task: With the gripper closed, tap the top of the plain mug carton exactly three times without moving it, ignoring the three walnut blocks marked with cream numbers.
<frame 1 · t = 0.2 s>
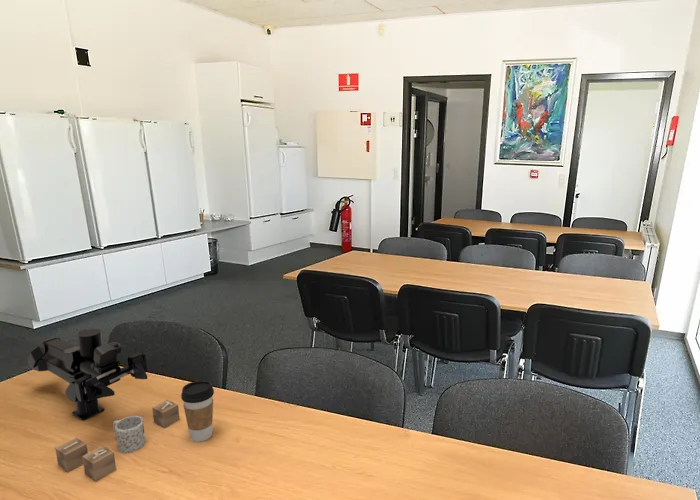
hand: (130, 385, 118), 17 cm above the table, tool horizontal, fingers open, 9 cm apart
walnut block one: (73, 463, 113), on the table
walnut block seven: (166, 421, 131), on the table
walnut block four: (100, 472, 110), on the table
mug: (127, 443, 121), on the table
coffee cup: (201, 435, 124), on the table
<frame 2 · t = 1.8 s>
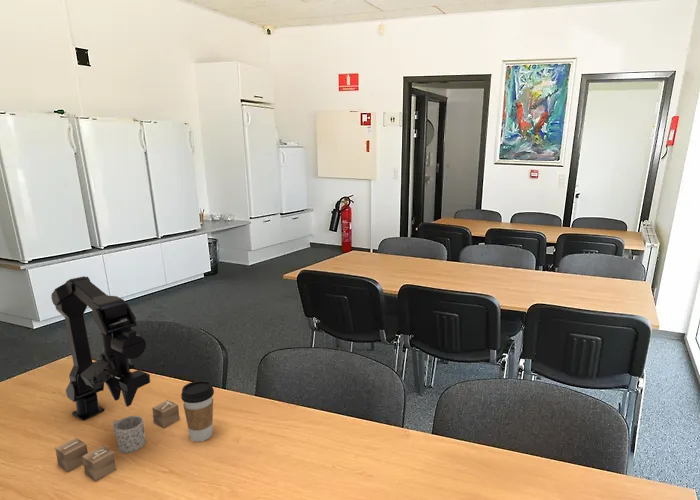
hand: (122, 402, 118), 12 cm above the table, tool pointing down, fingers open, 5 cm apart
nothing on the table moved.
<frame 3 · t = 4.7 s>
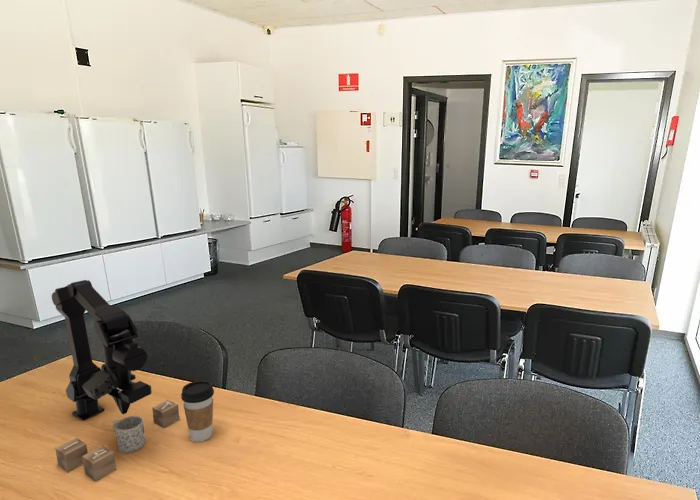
hand: (124, 413, 119), 9 cm above the table, tool pointing down, fingers closed
nothing on the table moved.
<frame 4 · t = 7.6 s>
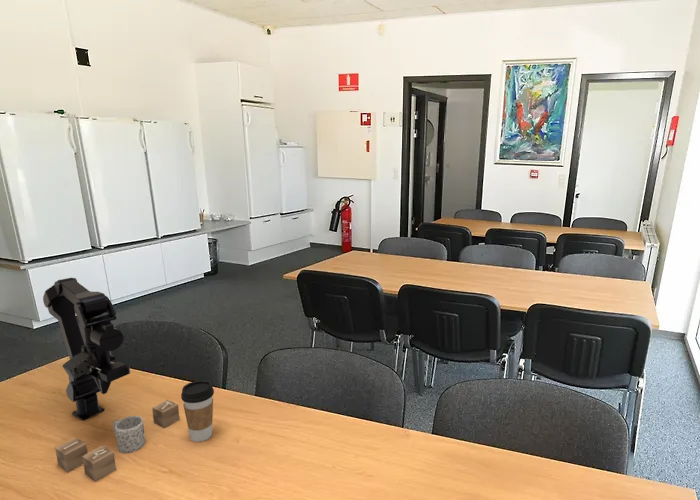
hand: (104, 393, 123), 12 cm above the table, tool pointing down, fingers closed
nothing on the table moved.
at the end: mug moved 0.3 cm from its start; mug tilted 0°; walnut block four moved 0.1 cm from its start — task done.
